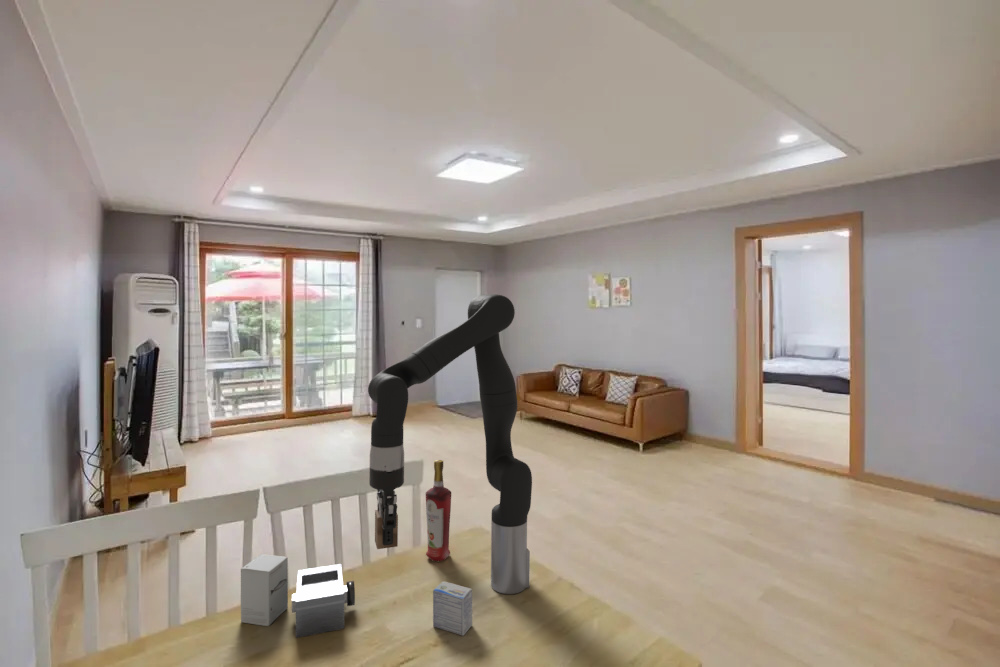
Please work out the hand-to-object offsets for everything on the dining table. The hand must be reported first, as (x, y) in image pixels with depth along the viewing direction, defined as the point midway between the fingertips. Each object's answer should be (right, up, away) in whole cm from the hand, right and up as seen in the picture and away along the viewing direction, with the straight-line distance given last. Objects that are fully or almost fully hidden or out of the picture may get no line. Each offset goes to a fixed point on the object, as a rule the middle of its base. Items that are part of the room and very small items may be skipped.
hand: (386, 539), depth 114 cm
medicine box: (+15, -20, +1) cm, 25 cm away
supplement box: (-29, -19, +4) cm, 35 cm away
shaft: (-15, -18, +4) cm, 24 cm away
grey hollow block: (-16, -19, +4) cm, 26 cm away
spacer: (0, -1, 0) cm, 1 cm away
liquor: (+8, -18, +32) cm, 38 cm away
